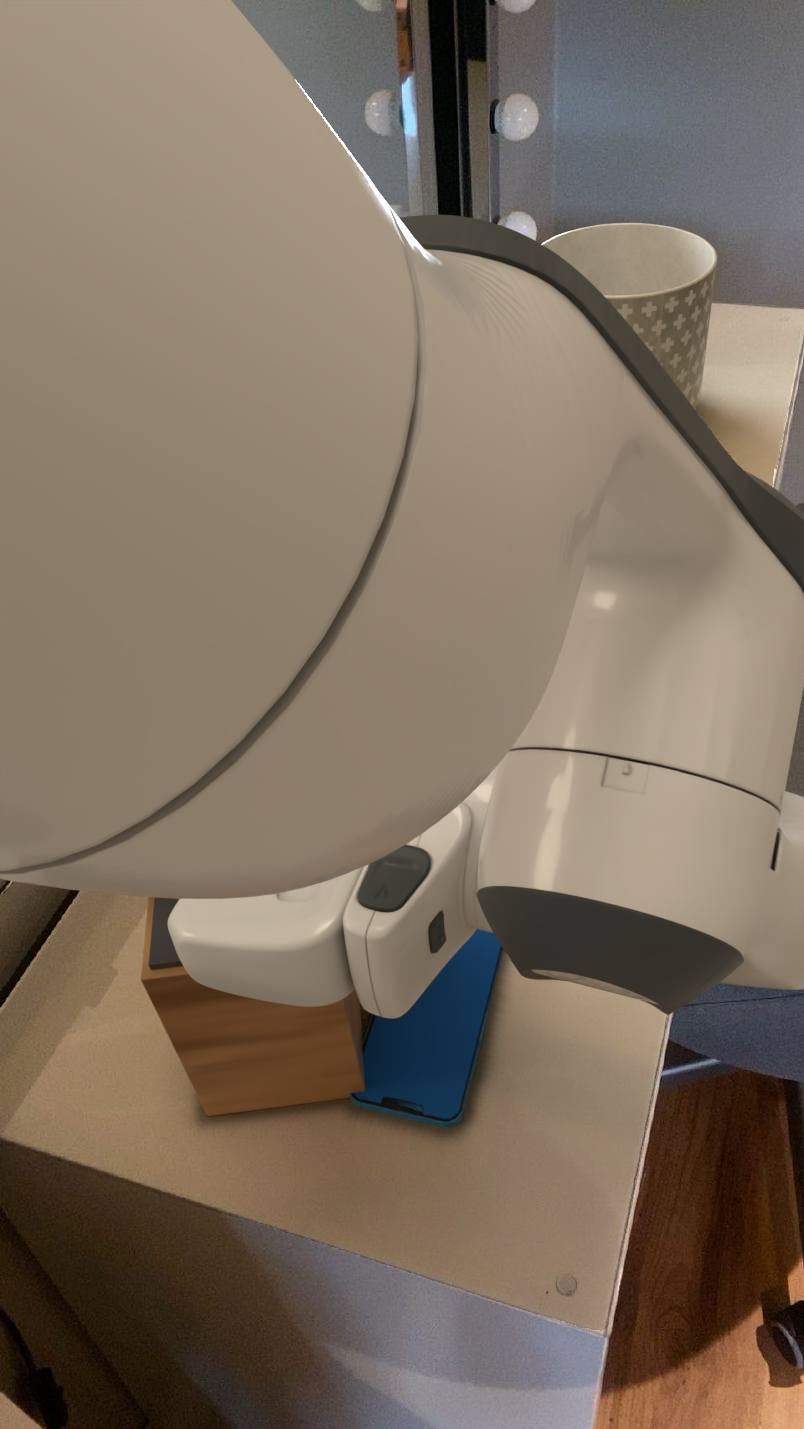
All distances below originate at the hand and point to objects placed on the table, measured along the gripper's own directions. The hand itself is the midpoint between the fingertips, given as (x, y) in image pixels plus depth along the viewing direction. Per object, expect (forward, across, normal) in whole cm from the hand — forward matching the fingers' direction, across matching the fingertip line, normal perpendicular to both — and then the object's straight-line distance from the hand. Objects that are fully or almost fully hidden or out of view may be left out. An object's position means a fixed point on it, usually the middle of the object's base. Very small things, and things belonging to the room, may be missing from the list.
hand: (181, 760), depth 51 cm
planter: (-6, -82, +26) cm, 86 cm away
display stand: (-1, 0, +26) cm, 26 cm away
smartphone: (-10, -4, +27) cm, 29 cm away
